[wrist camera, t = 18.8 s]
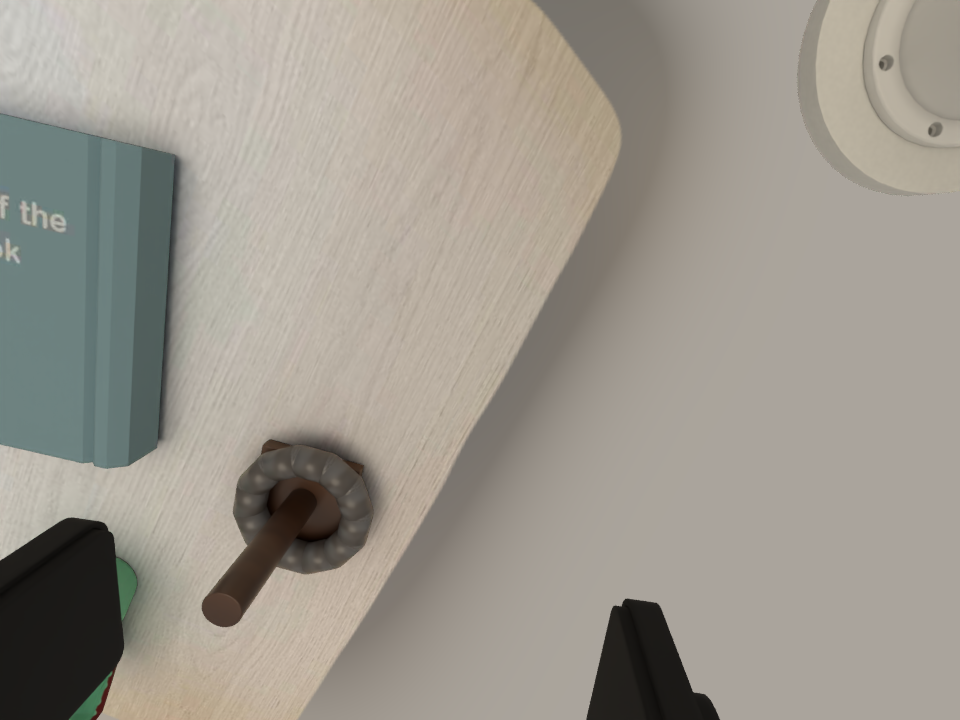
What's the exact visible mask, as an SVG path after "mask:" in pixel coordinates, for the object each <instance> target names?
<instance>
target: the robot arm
mask: <svg viewBox="0 0 960 720" xmlns="http://www.w3.org/2000/svg"><path fill="white" fill-rule="evenodd" d="M879 66H880V67H879ZM863 70H864V79H865V86H866V89H867V92H868V95H869V99H870V102H871V104H872V106H873V107H874V109H875V111H876V112H877V114H878V116H879V118H880V119H881V120H882V121H883V122H884V123H885V124H886V125H887V126H888V127H889V128H890V129H891V130H892V131H893V132H895V133H896V134H898V135H899V136H901V137H902V138H904V139H905V140H908V141H910V142H913V143H916V144H919V145H922V146H928V147H935V148H950V147H960V0H881V1H880V2H879V4H878V6H877V9H876V11H875V13H874V16H873V18H872V20H871V23H870V26H869V30H868V34H867V38H866V42H865V47H864V60H863ZM123 650H124V639H123V628H122V618H121V607H120V596H119V586H118V575H117V565H116V554H115V543H114V537H113V534H112V533H111V532H109V531H108V528H107V526H106V525H105V523H103V522H99V521H93V520H86V519H79V518H66V519H64V520H62V521H60V522H59V523H57V524H56V525H54V526H53V527H51V528H49V529H48V530H46V531H45V532H43V533H42V534H40V535H39V536H37V537H36V538H34V539H33V540H31V541H30V542H28V543H27V544H25V545H24V546H22V547H21V548H19V549H17V550H16V551H14V552H13V553H11V554H10V555H8V556H7V557H5V558H4V559H2V560H1V561H0V720H69V719H70V717H71V716H72V715H73V714H74V713H75V712H76V711H77V710H78V709H79V707H80V706H81V705H82V704H83V703H84V702H85V701H86V700H87V699H88V697H89V696H90V695H91V694H92V693H93V692H94V691H95V690H96V688H97V687H98V686H99V685H100V684H101V683H102V682H103V681H104V680H105V678H106V677H107V676H108V675H109V674H110V673H111V672H112V671H113V669H114V668H115V667H116V666H117V664H118V662H119V661H120V659H121V656H122V654H123ZM587 720H720V719H719V717H718V714H717V712H716V709H715V708H714V706H713V704H712V702H711V700H710V699H709V698H708V697H707V696H706V695H705V694H700V693H694V692H693V691H692V688H691V686H690V683H689V680H688V678H687V675H686V673H685V670H684V667H683V665H682V662H681V659H680V657H679V654H678V652H677V649H676V646H675V644H674V641H673V638H672V636H671V634H670V631H669V628H668V625H667V623H666V620H665V618H664V615H663V612H662V610H661V608H660V606H659V605H658V604H657V603H653V602H647V601H640V600H633V599H625V600H624V601H623V604H622V607H621V606H613V608H612V611H611V614H610V619H609V623H608V627H607V632H606V636H605V640H604V645H603V649H602V653H601V658H600V663H599V667H598V671H597V675H596V679H595V684H594V688H593V693H592V697H591V701H590V705H589V710H588V714H587Z"/></svg>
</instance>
